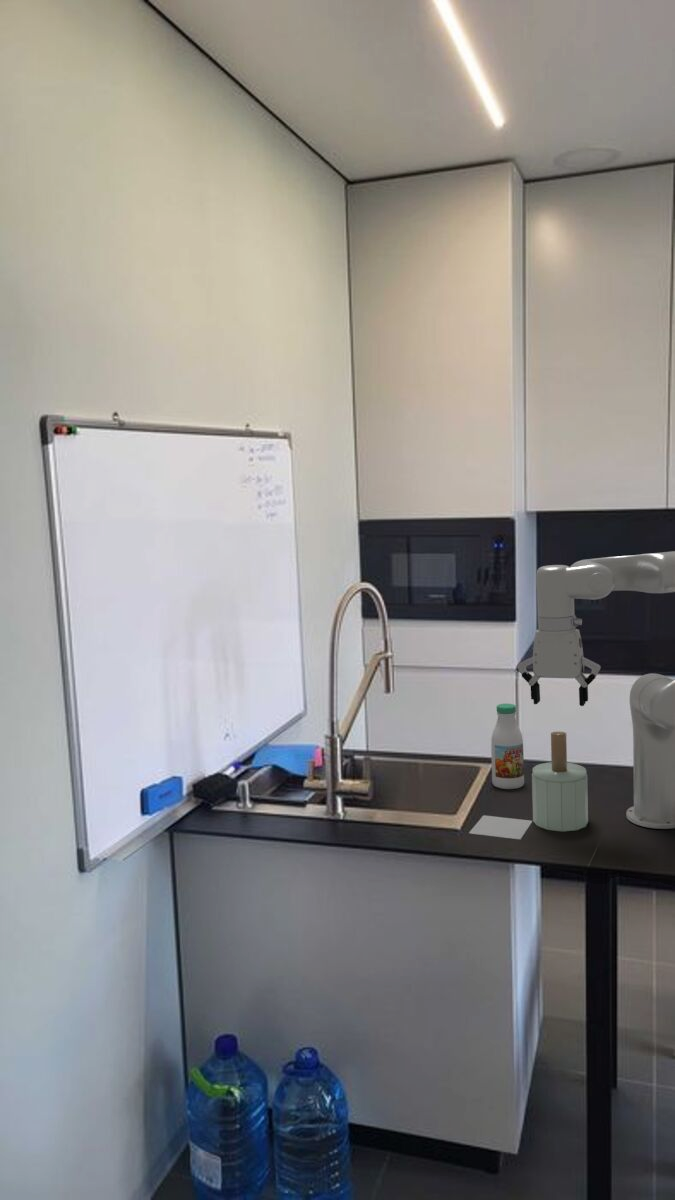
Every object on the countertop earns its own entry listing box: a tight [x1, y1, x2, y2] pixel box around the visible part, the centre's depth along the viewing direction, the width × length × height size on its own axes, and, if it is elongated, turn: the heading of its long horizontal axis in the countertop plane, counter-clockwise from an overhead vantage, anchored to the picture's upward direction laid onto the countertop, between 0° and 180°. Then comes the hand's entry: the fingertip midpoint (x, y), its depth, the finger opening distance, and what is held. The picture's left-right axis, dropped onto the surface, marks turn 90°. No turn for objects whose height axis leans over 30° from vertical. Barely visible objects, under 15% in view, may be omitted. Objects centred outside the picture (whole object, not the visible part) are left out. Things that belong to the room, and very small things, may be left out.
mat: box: [468, 815, 533, 840], centre depth 194 cm, size 11×11×1 cm
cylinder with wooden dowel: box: [531, 731, 589, 832], centre depth 195 cm, size 11×11×20 cm
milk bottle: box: [490, 703, 525, 790], centre depth 222 cm, size 8×8×20 cm
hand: (559, 703), depth 193 cm, fingers open, 9 cm apart
